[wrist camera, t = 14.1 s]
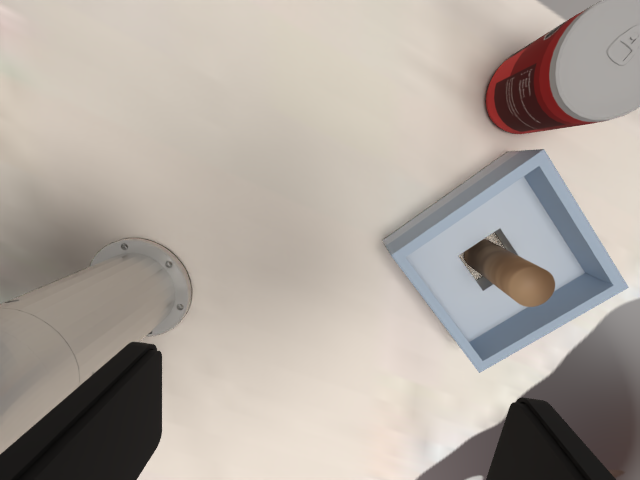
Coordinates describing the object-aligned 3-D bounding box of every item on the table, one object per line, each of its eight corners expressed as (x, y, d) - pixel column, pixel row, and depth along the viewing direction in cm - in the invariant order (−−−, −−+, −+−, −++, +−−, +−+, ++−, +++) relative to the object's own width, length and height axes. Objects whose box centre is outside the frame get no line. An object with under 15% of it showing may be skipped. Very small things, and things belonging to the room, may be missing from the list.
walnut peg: (474, 273, 36) (524, 314, 27) (458, 250, 36) (503, 283, 26) (501, 256, 36) (562, 291, 26) (485, 232, 35) (542, 259, 25)
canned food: (578, 65, 31) (705, 13, 20) (538, 145, 33) (635, 137, 22) (505, 38, 31) (596, -29, 20) (469, 120, 32) (534, 100, 22)
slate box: (457, 341, 38) (479, 372, 33) (382, 240, 36) (390, 255, 30) (580, 267, 35) (628, 287, 30) (507, 151, 33) (544, 149, 27)
